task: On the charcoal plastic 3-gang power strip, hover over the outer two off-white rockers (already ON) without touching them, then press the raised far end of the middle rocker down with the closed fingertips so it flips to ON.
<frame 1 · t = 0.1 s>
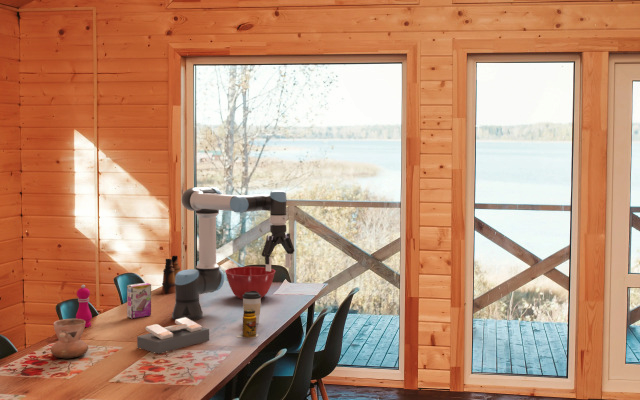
hand: (278, 269, 341), 28 cm above the table, fingers open, 13 cm apart
rocker 1: (159, 332, 308), point 7 cm above the table, hinge at 13.0°
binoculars: (172, 291, 431), on the table
coffee cup: (251, 323, 354), on the table
mixing bowl: (250, 297, 412), on the table
power strip: (174, 344, 315), on the table
rocker 3: (188, 325, 321), point 7 cm above the table, hinge at 13.0°
rocker 2: (173, 328, 314), point 7 cm above the table, hinge at -13.0°
ceramic jug: (70, 356, 297), on the table
candy bar box: (139, 317, 365), on the table
pepper mill: (84, 326, 345), on the table
condiment: (247, 336, 329), on the table
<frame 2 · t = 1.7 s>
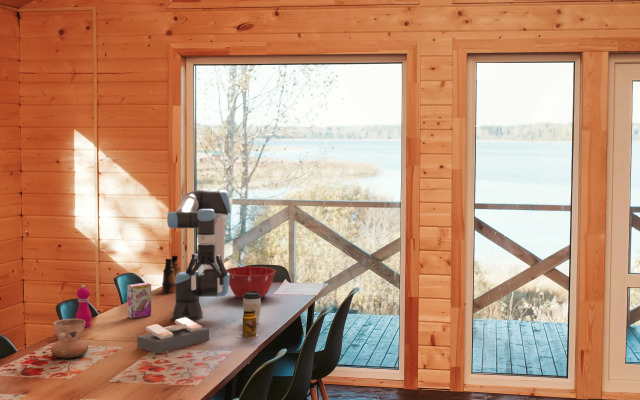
hand: (206, 291, 326), 21 cm above the table, fingers open, 13 cm apart
nothing on the table moved.
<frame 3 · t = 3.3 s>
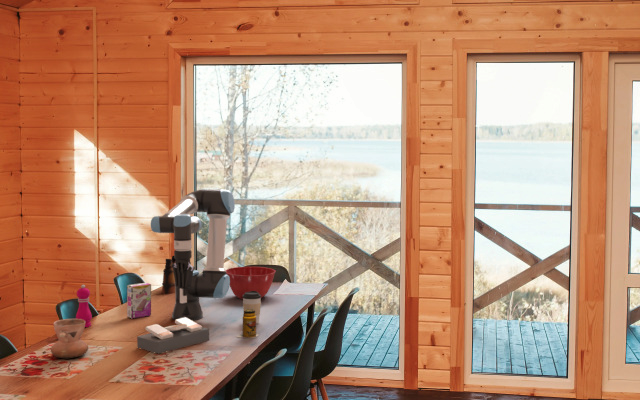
hand: (183, 302, 322), 16 cm above the table, fingers closed
nothing on the table moved.
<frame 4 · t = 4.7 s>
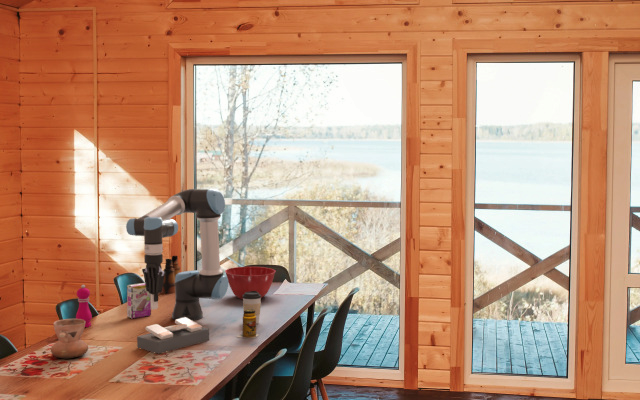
hand: (154, 308, 309), 16 cm above the table, fingers closed
nothing on the table moved.
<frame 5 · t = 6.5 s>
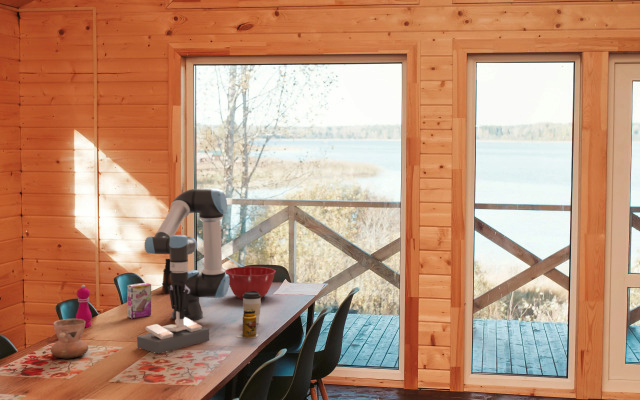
hand: (179, 326, 312), 9 cm above the table, fingers closed
rocker 2: (173, 328, 314), point 7 cm above the table, hinge at -6.4°, touching gripper
everything else where it was.
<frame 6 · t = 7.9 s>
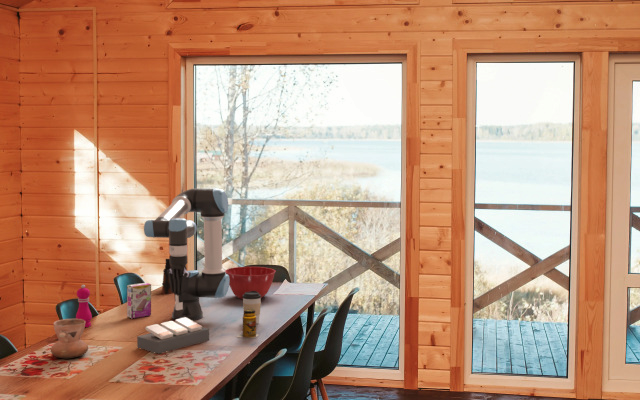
hand: (179, 309, 312), 16 cm above the table, fingers closed
rocker 2: (174, 328, 314), point 7 cm above the table, hinge at 11.9°
everything else where it was.
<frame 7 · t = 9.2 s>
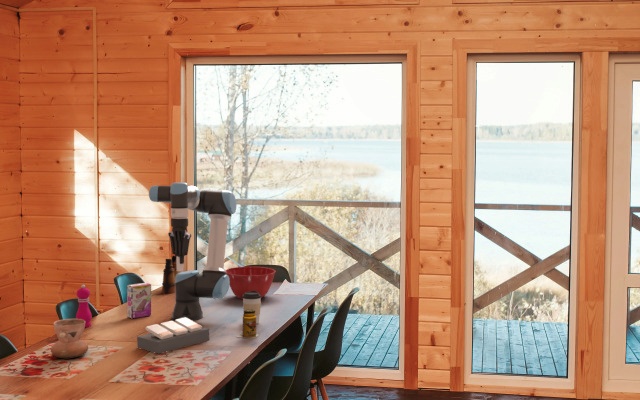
hand: (180, 270, 322), 30 cm above the table, fingers closed
rocker 2: (174, 328, 314), point 7 cm above the table, hinge at 12.4°
everything else where it was.
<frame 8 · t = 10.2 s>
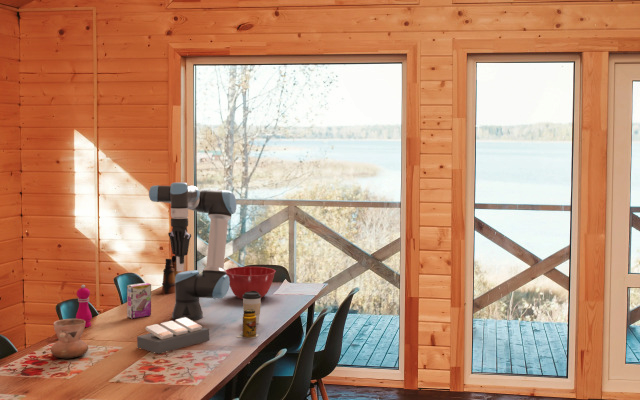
hand: (180, 270, 322), 30 cm above the table, fingers closed
nothing on the table moved.
at the end: rocker 2 at +12° (first picture: -13°); rocker 1 at +13° (first picture: +13°); rocker 3 at +13° (first picture: +13°) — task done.
